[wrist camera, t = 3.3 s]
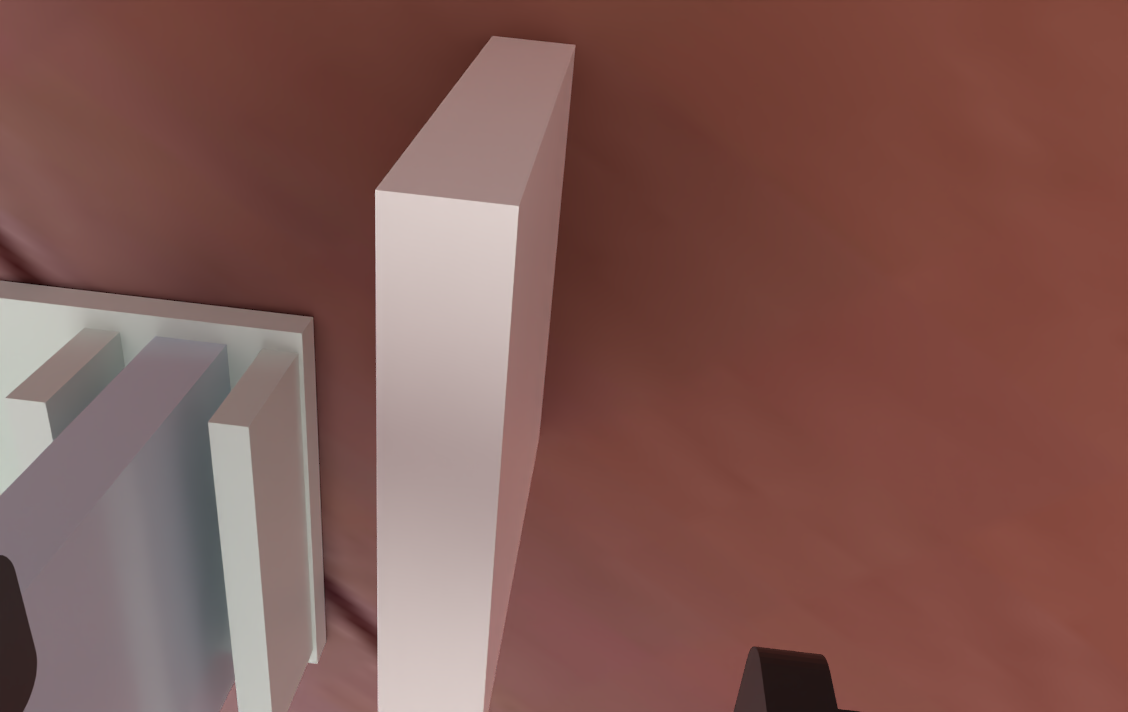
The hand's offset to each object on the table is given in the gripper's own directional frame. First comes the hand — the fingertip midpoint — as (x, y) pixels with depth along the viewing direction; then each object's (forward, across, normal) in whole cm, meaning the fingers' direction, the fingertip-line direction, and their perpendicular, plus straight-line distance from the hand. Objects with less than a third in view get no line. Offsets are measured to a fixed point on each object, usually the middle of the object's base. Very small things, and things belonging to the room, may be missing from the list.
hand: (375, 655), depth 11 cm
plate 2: (+12, 0, 0) cm, 12 cm away
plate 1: (+11, +7, +7) cm, 15 cm away
